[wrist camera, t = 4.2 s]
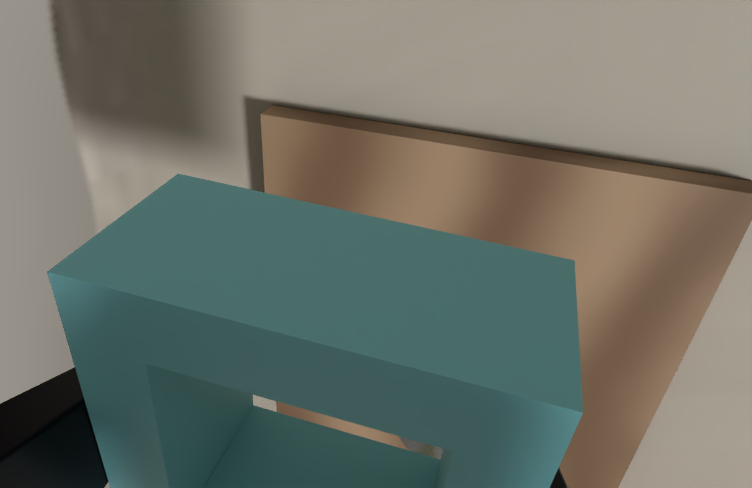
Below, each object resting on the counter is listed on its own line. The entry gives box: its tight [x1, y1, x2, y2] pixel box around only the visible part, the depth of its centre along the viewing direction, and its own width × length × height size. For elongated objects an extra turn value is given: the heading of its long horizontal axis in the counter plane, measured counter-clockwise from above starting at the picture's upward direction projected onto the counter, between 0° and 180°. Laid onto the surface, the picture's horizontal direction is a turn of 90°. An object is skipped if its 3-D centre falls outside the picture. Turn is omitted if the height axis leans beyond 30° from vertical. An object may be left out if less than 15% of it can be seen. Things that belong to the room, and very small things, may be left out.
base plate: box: [260, 105, 752, 488], centre depth 23 cm, size 16×16×1 cm
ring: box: [47, 174, 583, 488], centre depth 10 cm, size 7×7×3 cm
